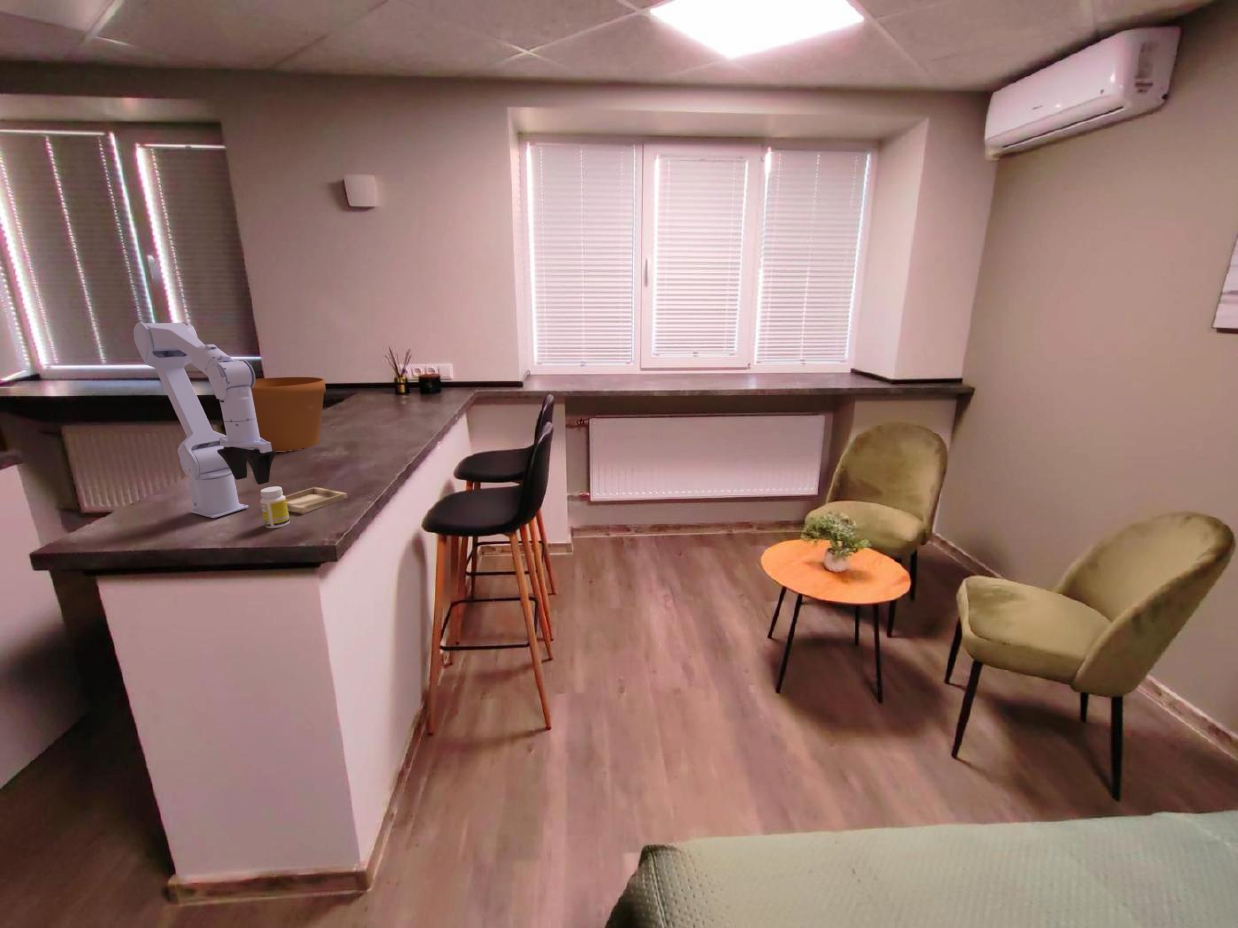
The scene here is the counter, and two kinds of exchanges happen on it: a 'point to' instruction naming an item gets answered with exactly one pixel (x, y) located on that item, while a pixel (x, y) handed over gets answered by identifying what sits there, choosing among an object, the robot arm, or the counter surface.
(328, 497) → the tray
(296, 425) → the flowerpot
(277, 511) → the supplement bottle
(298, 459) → the counter surface
